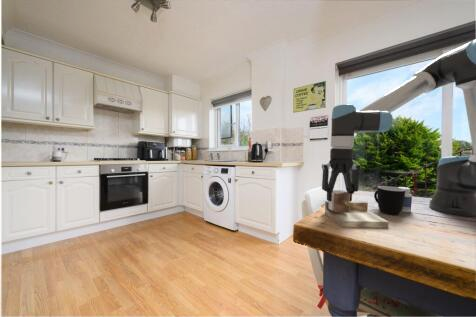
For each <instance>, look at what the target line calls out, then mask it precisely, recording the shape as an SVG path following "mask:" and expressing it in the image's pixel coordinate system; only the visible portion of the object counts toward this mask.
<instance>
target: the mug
mask: <svg viewBox="0 0 476 317" xmlns="http://www.w3.org/2000/svg"><path fill="white" fill-rule="evenodd" d="M373 195H374V196H373V197H374V200H375V201H376V203H377V206H378V210H379V212H380V213H382V214H384V215H391V216H399V215H400V214H401V210H402V207H403V203H404V198H405V190H404V189H402V188H398V187H397V186H390V185H389V186H387V185H382V186H381V185H379V186H377V190H375V192H374V194H373Z"/></svg>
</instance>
